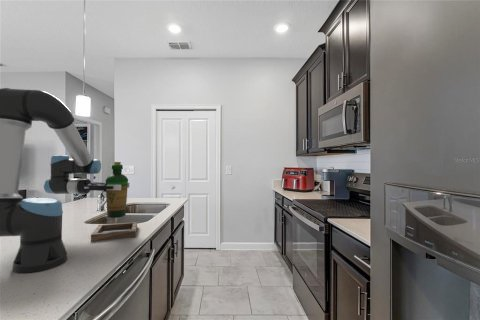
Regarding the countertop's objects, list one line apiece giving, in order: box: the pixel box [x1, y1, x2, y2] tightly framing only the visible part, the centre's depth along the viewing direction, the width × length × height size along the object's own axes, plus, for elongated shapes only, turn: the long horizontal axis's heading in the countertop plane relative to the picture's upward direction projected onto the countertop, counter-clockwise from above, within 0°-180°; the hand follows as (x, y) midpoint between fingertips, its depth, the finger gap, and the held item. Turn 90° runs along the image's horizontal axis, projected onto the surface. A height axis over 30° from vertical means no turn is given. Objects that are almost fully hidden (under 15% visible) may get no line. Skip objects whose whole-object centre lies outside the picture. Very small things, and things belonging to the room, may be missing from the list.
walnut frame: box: [90, 221, 138, 242], centre depth 124 cm, size 19×19×3 cm
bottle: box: [105, 161, 129, 219], centre depth 125 cm, size 11×11×28 cm
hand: (125, 186), depth 125 cm, fingers closed on bottle, 11 cm apart
